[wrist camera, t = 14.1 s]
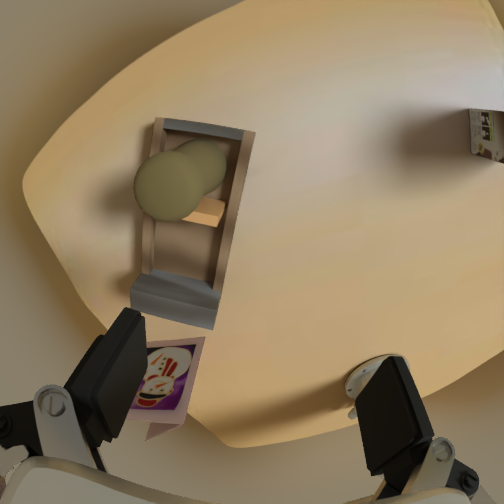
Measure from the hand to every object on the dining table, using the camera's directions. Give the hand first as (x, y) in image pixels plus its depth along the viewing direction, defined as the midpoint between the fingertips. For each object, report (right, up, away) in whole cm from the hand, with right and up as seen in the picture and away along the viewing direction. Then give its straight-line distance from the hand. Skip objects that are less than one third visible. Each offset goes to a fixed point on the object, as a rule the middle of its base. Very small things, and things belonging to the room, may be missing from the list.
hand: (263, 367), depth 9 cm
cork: (-6, +13, +18) cm, 23 cm away
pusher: (-7, +10, +19) cm, 22 cm away
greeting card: (-12, -12, +31) cm, 35 cm away
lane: (-7, +8, +21) cm, 24 cm away
